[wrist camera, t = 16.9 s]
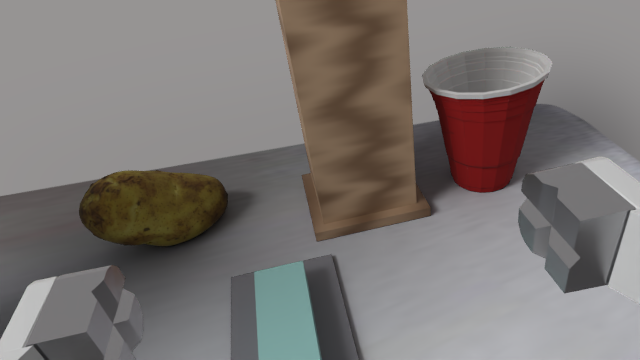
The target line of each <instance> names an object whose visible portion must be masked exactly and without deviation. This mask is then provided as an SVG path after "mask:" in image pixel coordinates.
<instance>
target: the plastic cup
mask: <svg viewBox="0 0 640 360" xmlns="http://www.w3.org/2000/svg"><path fill="white" fill-rule="evenodd" d="M551 66H552V61H551V60H550V59H549V58H548V57H547V56H546V55H545V54H543V53H539V52H537V51H534V50H530V49H524V48H513V47H501V48H500V47H499V48H484V49H478V50H472V51H466V52H461V53H458V54H455V55H452V56H449V57H446V58H443V59H441V60H439V61H438V62H436V63H434V64H432V65H431V66H429V67H428V68H427V70H426V71H425V72H424V73H423V75H422V77H423V82H424V85H425V87H426V88H427V89H429V91H430V93H431V94H432V97H433V100H434V101H435V105H436V109H437V110H438V115H439V120H440V124H441V129H442V134H443V138H444V143H445V148H446V152H447V155H448V159H449V164H450V169H451V174H452V176H453V179H454V181H455V182H456V183H457V184H458V185H459V186H460V187H462V188H464V189H467V190H469V191H475V192H493V191H496V190H499V189H502V188H504V187H505V186H506V185H507V184H509V182H510V179H511V178H512V176H513V173H514V169H515V166H516V163H517V159H518V157H519V156H520V153H521V150H522V147H523V143H524V140H525V136H526V133H527V130H528V126H529V123H530V120H531V116H532V113H533V109H534V106H535V105H536V102H537V99H538V96H539V93H540V90H541V87H542V85H543V82H544V80H545V79H546V78H547V77H548V75H549V72H550V69H551Z"/></svg>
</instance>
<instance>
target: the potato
mask: <svg viewBox="0 0 640 360" xmlns="http://www.w3.org/2000/svg"><path fill="white" fill-rule="evenodd" d="M227 204H228V194H227V193H226V191H225V188H224V186H223V185H222V184H221V182H220V181H218V180H217V179H215V178H213V177H210V176H207V175H200V174H191V173H170V172H161V171H157V170H156V171H121V172H116V173H113V174H110V175H108V176H105V177H103V178H101V179H100V180H98V181H97V182H96V183H94V184H93V183H92V184H91V185H90V188H89V189H88V191H87V192H86V194H85V195H84V197H83V199H82V201H81V203H80V208H79V216H80V219H81V221H82V223H83V224H84V225H85V227H86V228H87V229H88V230H90V231H91V232H92V233H93V235H95V236H97V237H99V238H101V239H103V240H106V241H110V242H114V243H119V244H123V245H141V244H148V245H155V246H170V245H175V244H179V243H182V242H184V241H187V240H190V239H192V238H194V237H196V236H198V235H199V234H201V233H203V232H204V231H205V230H207V229H208V228H210V227H211V226H212V225H213V224H214V223H215V222H216V221H217V220H218V219H219V218H220V217H221V216H222V215H223V213H224V212H225V210H226V208H227Z"/></svg>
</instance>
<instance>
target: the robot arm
mask: <svg viewBox="0 0 640 360" xmlns="http://www.w3.org/2000/svg"><path fill="white" fill-rule="evenodd" d="M521 191H522V192H523V194H524V195H525V196H526V197H527V199H526V200H525V202H524V203H523V204H522V205H521V207H520V208H519V216H518V223H519V227H520V232H521V235H522V237H523V239H524V241H525V243H526V245H527V246H528V247H529V249H530V250H531V251H532V253H535V254H537V255H539V256H541V257H543V258H546V262H545V270H546V271H547V272H548V273H549V275H550V276H551V277H552V278H553V280H554V281H555V282H556V284H557V285H558V286H559V287H560V289H561V290H562V291H563V292H564V293H569V292H574V291H579V290H583V289H588V288H593V287H598V286H603V285H608V287H609V288H611V289H613V290H614V291H616V292H618V293H620V294H622V295H623V296H625V297H627V298H629V299H630V300H632V301H634V302H636V303H638V304H639V305H640V182H639V181H637V180H636V179H635V178H633V177H632V176H631V175H629V174H628V173H627V172H626V171H624V170H623V169H622V168H620V167H619V166H618V165H616V164H615V163H614V162H613V161H611V160H610V159H608V158H605V157H602V156H599V157H595V158H591V159H587V160H583V161H579V162H575V163H574V164H568V165H564V166H560V167H555V168H551V169H546V170H542V171H538V172H533V173H529V174H526V175H525V177H524V179H523V181H522V189H521ZM125 279H126V278H125V277H124V275H123V274H122V272H121V271H120V269H119V267H117V266H113V265H110V266H105V267H100V268H95V269H90V270H84V271H79V272H74V273H69V274H64V275H61V276H56V277H51V278H46V279H41V280H36V281H34V282H33V283H31V284H30V285H28V286H27V288H26V290H25V292H24V294H23V296H22V298H21V300H20V302H19V304H18V306H17V308H16V310H15V312H14V314H13V316H12V318H11V320H10V322H9V324H8V326H7V328H6V330H5V332H4V334H3V335H2V337H1V339H0V360H136V358H135V357H134V355H133V354H132V351H133V350H134V349H135V348H136V347H137V345H138V344H139V343H140V342H141V340H142V334H143V328H144V327H143V313H142V310H141V306H140V303H139V301H138V299H137V298H136V296H135V294H133V293H131V292H129V291H127V290H125V289H123V287H124V283H125Z"/></svg>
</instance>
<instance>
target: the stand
mask: <svg viewBox="0 0 640 360" xmlns="http://www.w3.org/2000/svg"><path fill="white" fill-rule="evenodd" d="M276 5H277V10H278V14H279V20H280V25H281V30H282V34H283V40H284V44H285V49H286V54H287V59H288V64H289V69H290V74H291V79H292V83H293V88H294V93H295V98H296V103H297V108H298V113H299V117H300V122H301V127H302V132H303V137H304V142H305V147H306V152H307V157H308V162H309V166H310V171H311V173H309V174H305V175H302V179H303V183H304V188H305V192H306V196H307V201H308V205H309V209H310V214H311V218H312V223H313V227H314V231H315V236H316V240H317V241H321V240H326V239H330V238H335V237H339V236H343V235H348V234H352V233H357V232H361V231H365V230H370V229H374V228H379V227H383V226H387V225H392V224H396V223H401V222H405V221H409V220H414V219H418V218H422V217H427V216H431V208H430V206H429V204H428V202H427V201H426V199H425V197H424V196H423V194H422V192H421V191H420V189H419V187H418V186H417V184H416V182H415V161H414V140H413V119H412V101H411V80H410V59H409V38H408V37H409V36H408V16H407V0H276Z"/></svg>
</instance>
